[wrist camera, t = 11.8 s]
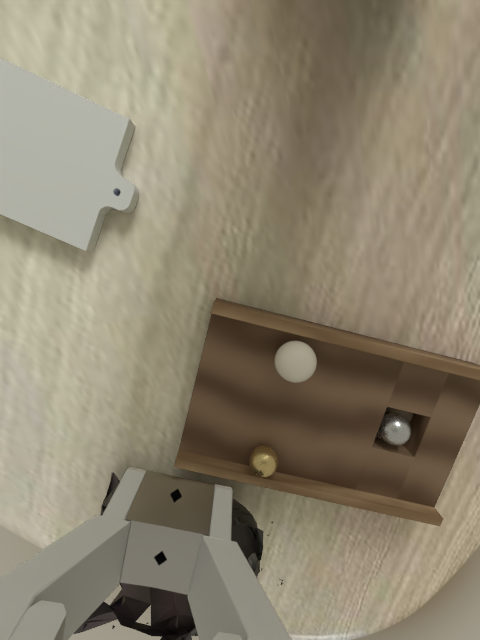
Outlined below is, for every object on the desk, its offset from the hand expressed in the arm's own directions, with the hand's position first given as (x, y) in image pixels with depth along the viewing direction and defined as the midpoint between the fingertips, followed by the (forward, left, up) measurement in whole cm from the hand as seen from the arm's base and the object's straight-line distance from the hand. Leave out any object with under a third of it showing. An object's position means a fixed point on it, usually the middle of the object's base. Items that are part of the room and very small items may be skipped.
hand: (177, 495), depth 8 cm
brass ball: (+12, +8, -20) cm, 25 cm away
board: (+6, +14, -24) cm, 28 cm away
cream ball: (+1, +8, -20) cm, 21 cm away
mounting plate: (-12, -20, -25) cm, 34 cm away
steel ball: (+6, +21, -22) cm, 32 cm away
